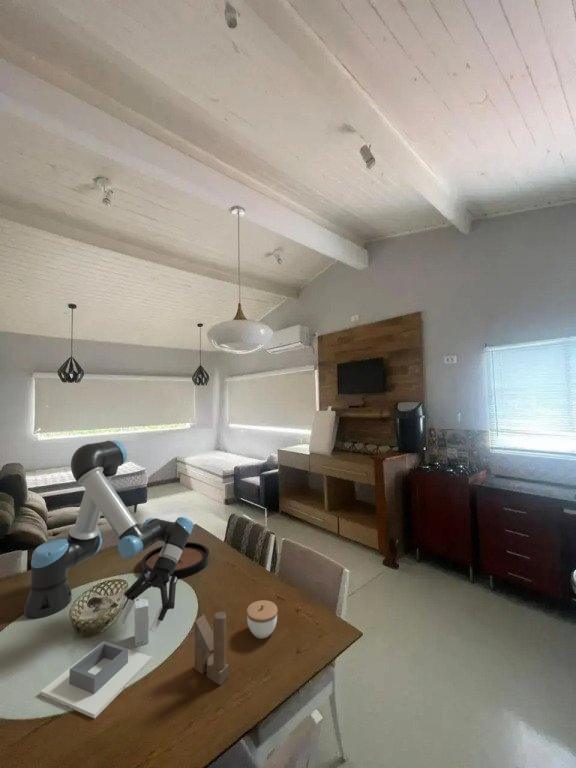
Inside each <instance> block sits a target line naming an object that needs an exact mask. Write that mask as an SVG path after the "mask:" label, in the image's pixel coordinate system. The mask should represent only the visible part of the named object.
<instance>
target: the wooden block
mask: <svg viewBox="0 0 576 768" xmlns="http://www.w3.org/2000/svg"><path fill="white" fill-rule="evenodd" d="M226 654H227V614H226V612H225V611H217V612H216V613H215V614H214V615H213V630H212V628H211V626H210V624H209V622H208V620H207V618H206V616H205V614H202V615H201V616H199V617H198V618H197V619H195V620H194V670H195V671H197V672H199V673H200V674H201V675H203V674H205V672H206V677H207V679H209V680H211V681H212V682H214V683H215V684H217V685H219V686H221V685H222V684H223V683H225V681H226V680H227V679H228V678H229V664H228V663H227V661H226V660H227V656H226Z"/></svg>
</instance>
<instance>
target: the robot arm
mask: <svg viewBox="0 0 576 768" xmlns="http://www.w3.org/2000/svg"><path fill="white" fill-rule="evenodd" d="M127 459H128V453H127V449H126V448H125V445H124V444H123V443H121V442H120V441H118V440H106V441H101V442H92V443H86V444H83V445H81V446H80V447H78V448H77V449H76V450H75V451H74V452H73V455H72V457H71V461H70V470H71V473H72V476H73V478H74V480H75V481H76V483H77V484H78V485H81V486H83V488H84V489H85V490H84V492H83V495H82V500H81V503H80V506H79V510H78V513H77V517H76V521H75V524H74V526H71V528H70V529H69V531H68V534H67V537H66V538H56V539H52V540H49V541H46V542H44V543H41V544H40V545H39V546H37V547H36V548H35V549H33V551H32V555H31V561H30V566H31V569H30V591H29V593H28V596H27V599H26V602H25V604H24V606H23V607H24V608H23V614H24V616H25V617H27V618H30V619H37V618H43V617H44V618H45V617H47V616H52V615H54V614H56V613H58V612H60V611H61V610H63V609H65V608H66V607H68V606H69V604H71V602H72V590H71V588H70V585H69V582H68V571H69V570H71V569H72V568H74V567H77V566H78V565H79V564H82V563H83V562H85V561H87V560H90V559H91V558H92V557H93V556H95V555H96V554H97V553H99V552H100V550H101V548H102V545H103V538H102V534H101V531H100V528H99V527H98V525H99V522H100V518H101V515H103V517H104V518H105V520H106V522H107V523H108V524H109V526H110V527H111V529H112V530H113V532H114V533H115V535H116V536H117V537H118V539H119V541H118V543H117V549H118V554H119V555H120V557H122V558H124V559H130V558H133V557H135V556H137V555H139V554H141V553H142V552H143V551H144V550H146V549H147V548H149V547H150V546H153V545H154V544H155V543H157V542H158V541H159V542H162V543H163V542H164V544H163V545H162V546H163V548H162V550H161V552H160V554H159V555H160V557H158V558H157V560H156V562H155V564H154V568H153V570H152V571H151V572H149V571H148V570H146V569H145V570H144V572H143V573H142V574H141V575H140V576H139V577H138V578H137V579H136V580H135V581H134V582H133V584H132V585H131V586H130V587H129V588H128V589H127V590H126V591H125V592H124V595H123V596H125V597H126V600H125V603H124V604H123V606H122V612H121V613H120V615H119V617H118V619H117V622H119V623H121V624H125V622H126V620H127V618H128V616H129V614H130V612H131V610H132V608H133V606H134V605H135V600H136V599H138V597H139V596H141V595H142V594H143V593H145V591H147V590H148V589H149V588H157V589H159V590H160V597H161V598H160V599H161V607H159V608H158V611H156V612H157V613H156V615H155V617H154V620H153V622H152V623H151V626H150V628H149V632H151V633H154V634H156V633H157V632H158V631H157V630H158V628H159V626H160V624H161V622H162V621H164V619H165V616H166V615H167V612H168V610H173V609H175V603H176V602H175V601H176V589H177V588H176V585H177V582H178V580H179V579H178V578H177V577H175V576H174V575H173V576H171V574H173V572H174V570H175V567H176V565H177V564H176V562H178V560H179V558H180V556H181V554H182V551H183V549H184V547H185V545H186V542H188V540H189V538H190V536H191V533H192V532H193V528H194V523H193V521H192V520H191V519H189V518H188V517H183V516H178V517H177V518H176V520H175V521H169V520H166V519H165V520H164V519H160V518H156V517H149V518H147V519H146V520H145V521H144V522H143V523H142V524H141V526H140V525H139V523H138V522H137V520H136V519H135V518H134V516H133V515H132V513H131V512H130V510H129V509H128V507H127V506H126V505H125V503H124V502H123V500H122V498H121V497H120V495H118V493H117V491H116V489H114V487H113V485H111V479H112V478H113V477H115V476H116V475H117V474H118V473H117V472H118V469H119V467H121V466H123V464H125V463H126V461H127ZM167 583H169V587H168V585H167Z"/></svg>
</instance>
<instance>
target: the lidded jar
mask: <svg viewBox="0 0 576 768" xmlns="http://www.w3.org/2000/svg"><path fill="white" fill-rule="evenodd" d="M278 609H279V608H278V606H277V605H276V604H275V602H273V601H271V600H265V599H264V600H263V599H261V600H256V601H254V602H252V603H250V604H249V605H248V607H247V608H246V619H247V626H248V629H249V631H250V632H251V634H252V635H253V636H254V638H255V637H256V638H257V639H265V638H268V637H270V635H271V634H272V633H273V632H274V631H275V628H276V626H277V621H278V613H279V612H278Z"/></svg>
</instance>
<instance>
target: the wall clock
mask: <svg viewBox="0 0 576 768" xmlns="http://www.w3.org/2000/svg"><path fill="white" fill-rule="evenodd" d="M163 546H164V545H161V546H159V547H156V548H154V549H152V550H150V551H149V552H148V553H146V554H145V555H144V556H143V558H142V560H141V572H142V573H143V572H144V570H145V569H146V570H148V571H149V572H151V571H152V570H153V568H154V564H155V562H156V560H157V558H158V557H160V555H159V554H160V552H161V550H162V548H163ZM209 562H210V550H209V548H208V547H207V546H206V545H204V544H201V543H198V542H190V541H187V542H186V545H185V547H184V549H183V551H182V554H181V556H180V558H179V560H178V562H176V564H177V565H176V567H175V570H174V572H173V574H171V576H173V575H174V576H175V577H177V578H178V580H181V579H184V578H185V579H186V578H188V577H192V576H194V575H196V574H198V573H199V572H201V571H203V570H204V569H205V568H206V567H207V566H208V565H209Z"/></svg>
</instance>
